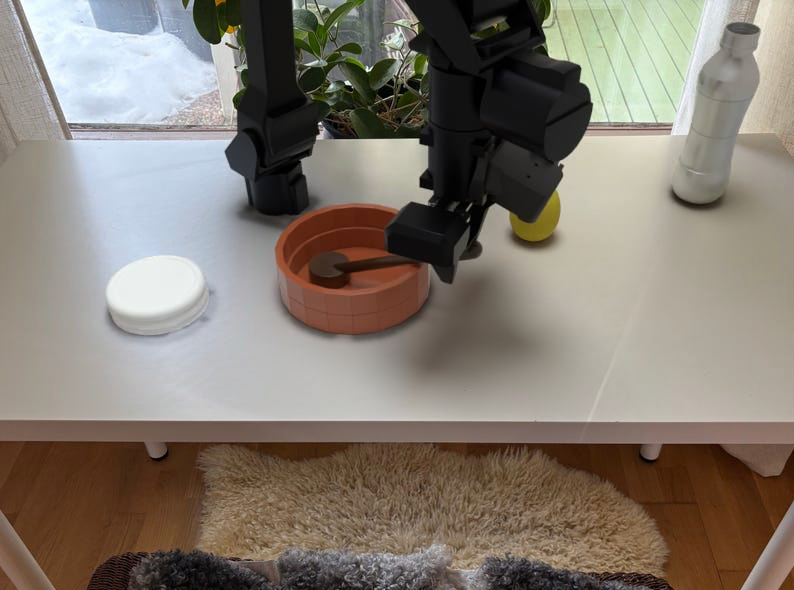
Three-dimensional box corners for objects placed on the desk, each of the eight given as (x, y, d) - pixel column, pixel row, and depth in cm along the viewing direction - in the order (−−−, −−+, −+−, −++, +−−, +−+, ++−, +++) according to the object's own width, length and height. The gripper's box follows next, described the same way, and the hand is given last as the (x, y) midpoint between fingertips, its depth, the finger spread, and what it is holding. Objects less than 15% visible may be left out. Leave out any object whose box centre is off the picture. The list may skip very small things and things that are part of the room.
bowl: (253, 314, 80) (244, 269, 76) (328, 234, 90) (323, 190, 86) (389, 358, 75) (387, 312, 71) (452, 267, 85) (454, 223, 81)
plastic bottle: (729, 190, 95) (783, 23, 81) (713, 217, 91) (766, 46, 77) (677, 175, 97) (720, 11, 83) (659, 201, 93) (701, 33, 79)
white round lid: (211, 273, 85) (204, 247, 82) (210, 333, 78) (204, 307, 75) (117, 285, 84) (108, 258, 81) (108, 347, 77) (98, 320, 74)
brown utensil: (302, 283, 82) (292, 206, 75) (322, 260, 85) (315, 184, 78) (468, 335, 76) (473, 256, 69) (484, 308, 79) (491, 231, 72)
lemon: (554, 258, 86) (563, 195, 80) (504, 253, 86) (509, 190, 81) (557, 229, 89) (566, 168, 84) (509, 225, 90) (515, 163, 85)
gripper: (518, 194, 55) (502, 354, 65) (591, 85, 66) (567, 236, 77) (377, 161, 58) (384, 318, 69) (471, 64, 70) (464, 211, 81)
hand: (457, 268), depth 74 cm, fingers open, 4 cm apart
